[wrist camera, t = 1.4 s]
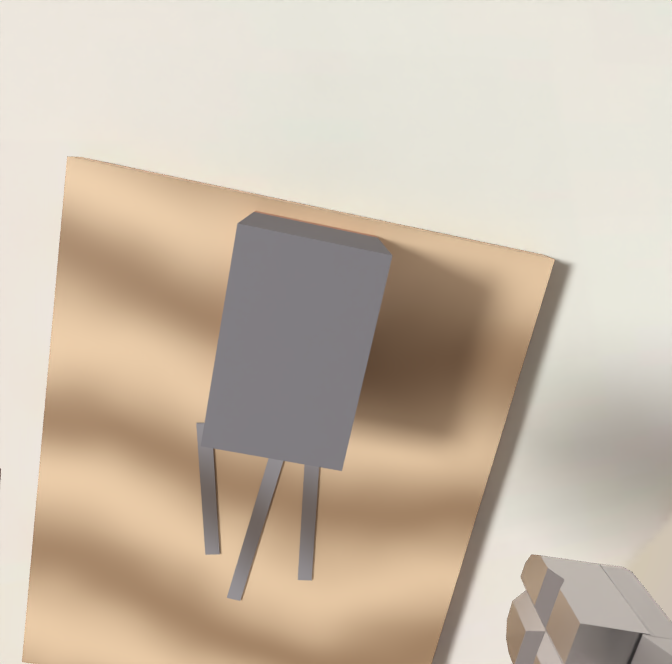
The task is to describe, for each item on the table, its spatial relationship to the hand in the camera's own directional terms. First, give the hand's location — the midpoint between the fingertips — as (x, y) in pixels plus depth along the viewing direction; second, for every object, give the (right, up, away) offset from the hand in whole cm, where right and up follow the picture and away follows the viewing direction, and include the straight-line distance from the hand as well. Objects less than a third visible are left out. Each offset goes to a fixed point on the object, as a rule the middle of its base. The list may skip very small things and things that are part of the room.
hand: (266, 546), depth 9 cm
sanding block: (0, +4, +14) cm, 14 cm away
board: (-2, -2, +17) cm, 17 cm away
